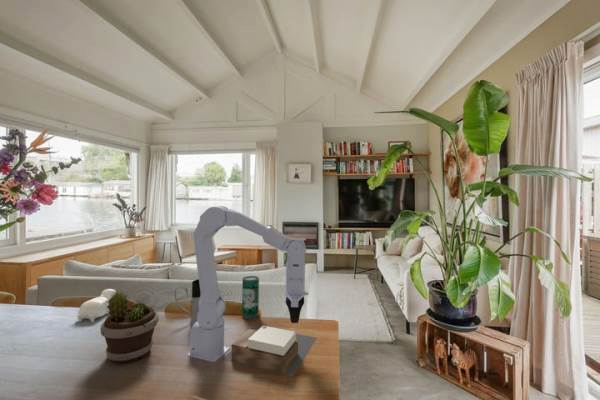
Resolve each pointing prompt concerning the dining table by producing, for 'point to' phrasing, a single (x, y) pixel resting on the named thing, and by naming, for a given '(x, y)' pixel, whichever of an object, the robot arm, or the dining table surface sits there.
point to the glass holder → (192, 300)
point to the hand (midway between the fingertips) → (294, 322)
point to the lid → (272, 340)
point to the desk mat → (303, 349)
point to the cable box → (262, 355)
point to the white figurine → (95, 306)
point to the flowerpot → (128, 329)
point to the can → (250, 297)
